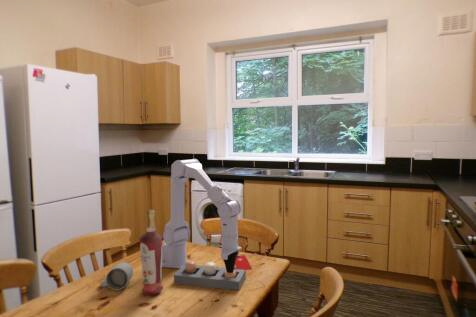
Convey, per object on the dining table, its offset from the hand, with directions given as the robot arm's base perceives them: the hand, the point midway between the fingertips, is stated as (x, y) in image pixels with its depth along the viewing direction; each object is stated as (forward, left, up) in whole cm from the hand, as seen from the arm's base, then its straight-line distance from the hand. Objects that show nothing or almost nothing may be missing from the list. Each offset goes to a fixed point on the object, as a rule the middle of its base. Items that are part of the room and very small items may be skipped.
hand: (230, 272), depth 117 cm
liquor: (-24, -13, -4) cm, 27 cm away
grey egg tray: (-8, 0, -4) cm, 8 cm away
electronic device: (-1, +19, -4) cm, 20 cm away
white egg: (-8, 0, -1) cm, 8 cm away
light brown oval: (0, 0, -3) cm, 3 cm away
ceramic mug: (-39, -11, -4) cm, 40 cm away
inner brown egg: (-15, 0, -1) cm, 15 cm away
